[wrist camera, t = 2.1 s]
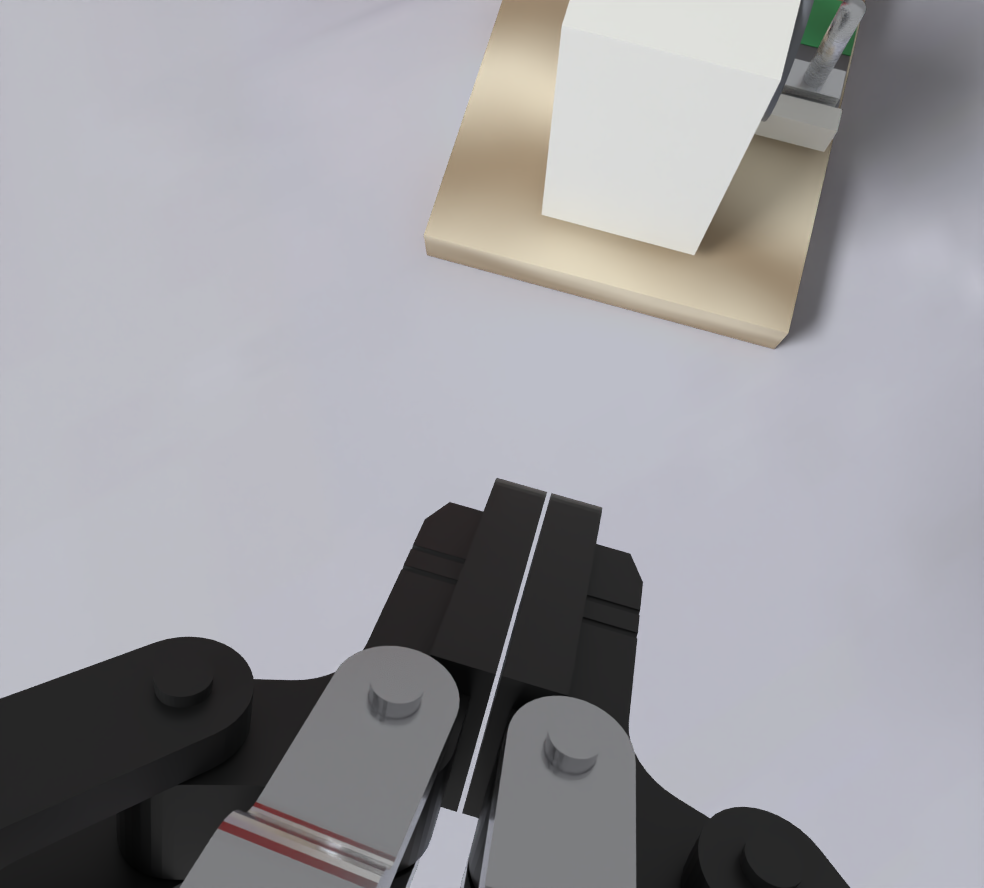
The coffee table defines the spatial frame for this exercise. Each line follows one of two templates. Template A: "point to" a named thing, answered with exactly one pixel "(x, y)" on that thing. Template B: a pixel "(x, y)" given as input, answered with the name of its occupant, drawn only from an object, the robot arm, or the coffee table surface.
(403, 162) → the coffee table surface
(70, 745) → the robot arm
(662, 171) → the block
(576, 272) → the gauge stand
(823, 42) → the grey metal lever
